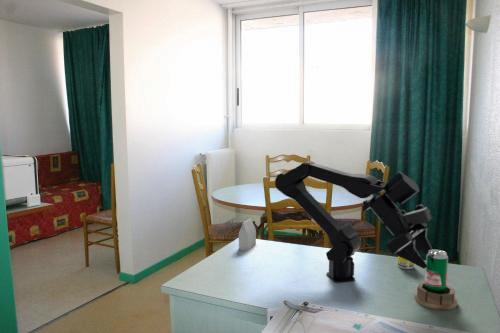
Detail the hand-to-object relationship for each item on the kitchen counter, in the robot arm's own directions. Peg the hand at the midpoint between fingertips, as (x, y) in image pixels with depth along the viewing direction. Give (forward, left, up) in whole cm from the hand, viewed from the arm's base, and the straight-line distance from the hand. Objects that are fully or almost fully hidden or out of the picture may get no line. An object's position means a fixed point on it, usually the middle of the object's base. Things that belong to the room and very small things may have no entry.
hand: (430, 262), depth 105 cm
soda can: (+1, -1, -9) cm, 9 cm away
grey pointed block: (-36, +53, -10) cm, 65 cm away
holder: (+1, -1, -10) cm, 10 cm away
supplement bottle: (+8, +22, -10) cm, 25 cm away
